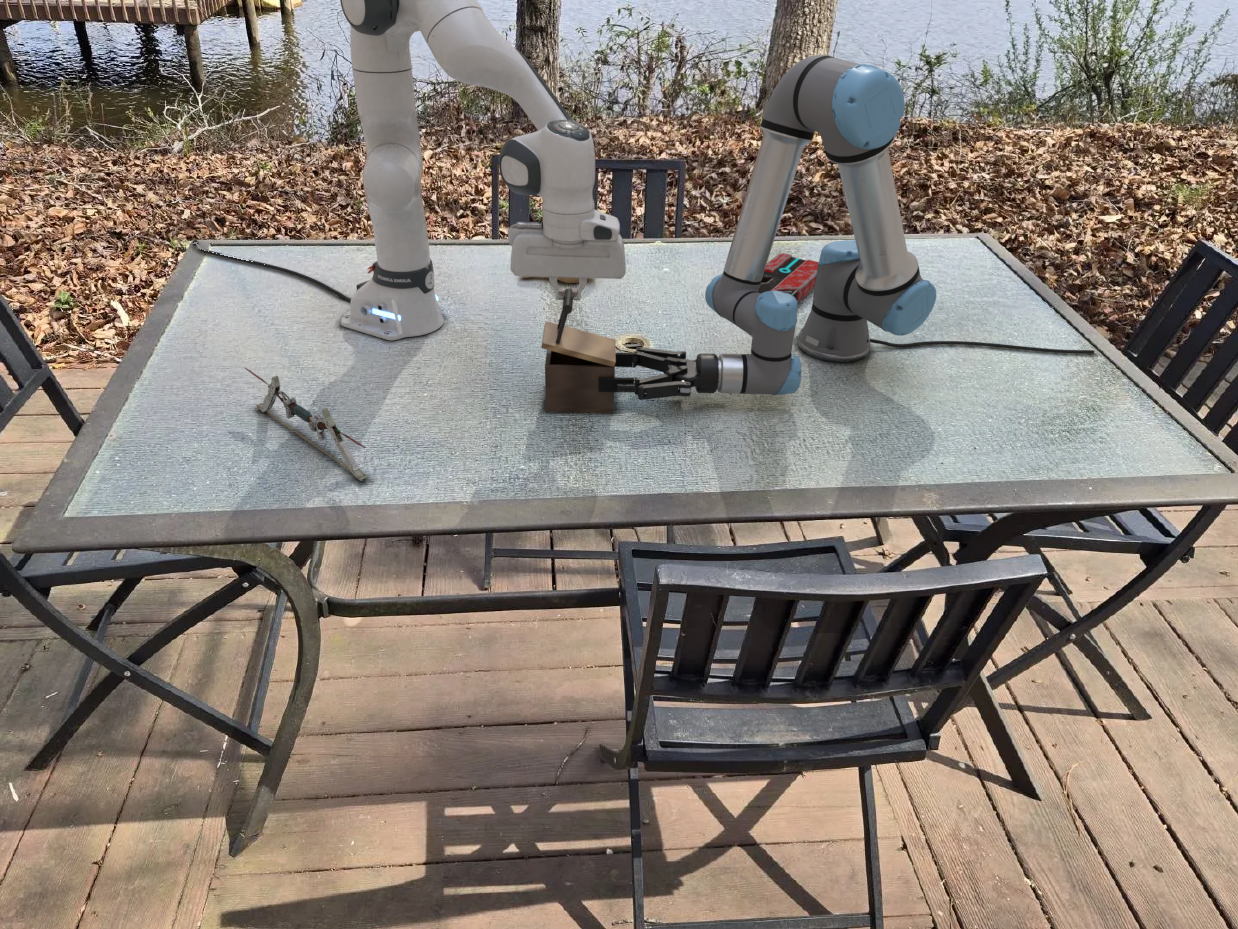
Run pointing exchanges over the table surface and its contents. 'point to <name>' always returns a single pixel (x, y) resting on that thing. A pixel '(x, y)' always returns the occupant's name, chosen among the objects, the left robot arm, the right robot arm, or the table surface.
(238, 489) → the table surface
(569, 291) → the lid
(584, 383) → the chest
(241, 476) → the table surface
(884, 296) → the right robot arm
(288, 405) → the bow
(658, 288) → the table surface
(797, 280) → the gun
